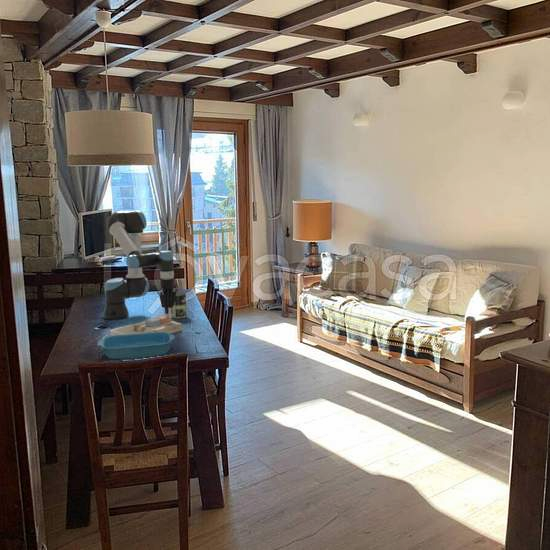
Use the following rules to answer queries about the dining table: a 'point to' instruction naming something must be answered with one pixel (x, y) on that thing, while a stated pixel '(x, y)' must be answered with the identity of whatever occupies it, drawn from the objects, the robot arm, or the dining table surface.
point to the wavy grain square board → (159, 327)
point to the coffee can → (179, 306)
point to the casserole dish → (136, 345)
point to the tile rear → (164, 319)
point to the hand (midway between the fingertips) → (168, 318)
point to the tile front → (153, 322)
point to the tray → (126, 330)
